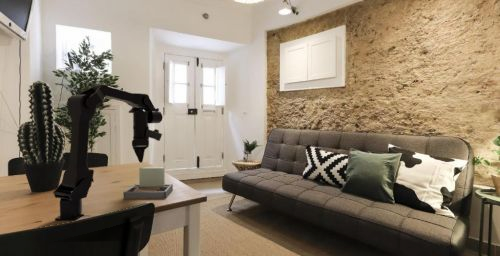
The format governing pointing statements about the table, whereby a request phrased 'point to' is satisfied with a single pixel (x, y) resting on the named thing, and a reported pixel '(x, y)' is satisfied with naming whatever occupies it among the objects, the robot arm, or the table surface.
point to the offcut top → (146, 190)
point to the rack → (158, 194)
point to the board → (151, 177)
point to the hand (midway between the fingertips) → (141, 160)
